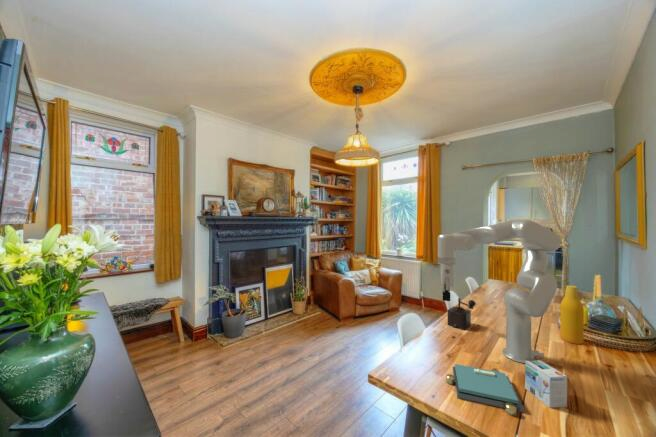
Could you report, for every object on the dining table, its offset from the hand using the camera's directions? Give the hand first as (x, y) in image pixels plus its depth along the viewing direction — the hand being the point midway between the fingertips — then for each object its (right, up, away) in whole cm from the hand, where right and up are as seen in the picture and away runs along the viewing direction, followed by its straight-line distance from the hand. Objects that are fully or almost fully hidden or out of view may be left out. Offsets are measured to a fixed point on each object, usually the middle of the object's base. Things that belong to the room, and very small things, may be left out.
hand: (446, 300), depth 122 cm
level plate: (+4, -25, -22) cm, 33 cm away
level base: (+3, -27, -21) cm, 35 cm away
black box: (+26, -27, +36) cm, 52 cm away
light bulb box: (+24, -27, -26) cm, 45 cm away
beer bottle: (+75, -28, +18) cm, 82 cm away
